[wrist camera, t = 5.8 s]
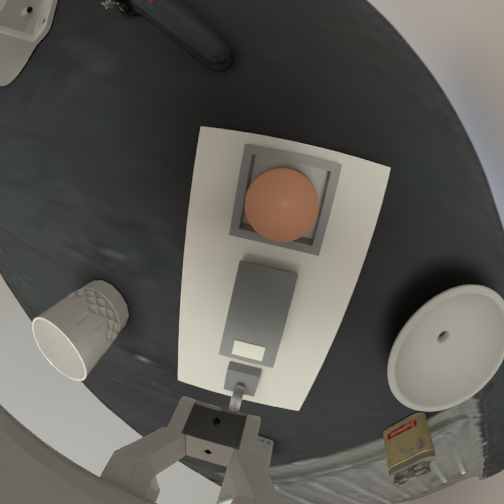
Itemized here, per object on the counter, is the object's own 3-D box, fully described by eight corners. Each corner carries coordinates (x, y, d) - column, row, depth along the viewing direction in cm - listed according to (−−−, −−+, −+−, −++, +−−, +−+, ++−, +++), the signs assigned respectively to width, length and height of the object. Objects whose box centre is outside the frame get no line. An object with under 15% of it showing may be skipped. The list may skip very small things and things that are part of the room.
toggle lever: (232, 379, 25) (212, 442, 20) (250, 384, 25) (232, 448, 20) (231, 386, 26) (213, 445, 21) (248, 390, 26) (232, 450, 21)
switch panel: (212, 128, 22) (192, 124, 17) (379, 165, 20) (397, 169, 16) (186, 363, 31) (172, 389, 27) (300, 391, 30) (298, 421, 26)
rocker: (241, 259, 22) (239, 260, 21) (297, 273, 21) (298, 274, 20) (221, 349, 22) (218, 354, 21) (273, 363, 22) (273, 368, 20)
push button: (257, 160, 18) (251, 162, 16) (323, 175, 18) (326, 179, 15) (246, 223, 20) (238, 233, 17) (308, 237, 19) (308, 249, 17)
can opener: (111, 5, 18) (80, -10, 13) (158, -36, 15) (134, -59, 10) (199, 97, 21) (170, 85, 16) (263, 47, 19) (251, 21, 13)
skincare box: (249, 430, 35) (232, 499, 24) (274, 440, 35) (262, 507, 24) (232, 444, 37) (215, 505, 26) (255, 452, 37) (242, 512, 26)
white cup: (75, 282, 31) (22, 322, 21) (112, 267, 28) (53, 312, 19) (104, 333, 33) (61, 380, 24) (144, 326, 31) (99, 382, 21)
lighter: (420, 408, 29) (434, 465, 20) (429, 416, 29) (443, 469, 20) (378, 431, 32) (385, 487, 22) (389, 438, 32) (396, 490, 23)
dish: (349, 317, 26) (356, 350, 21) (465, 230, 20) (493, 248, 16) (411, 399, 28) (419, 427, 24) (499, 338, 23) (516, 362, 19)
